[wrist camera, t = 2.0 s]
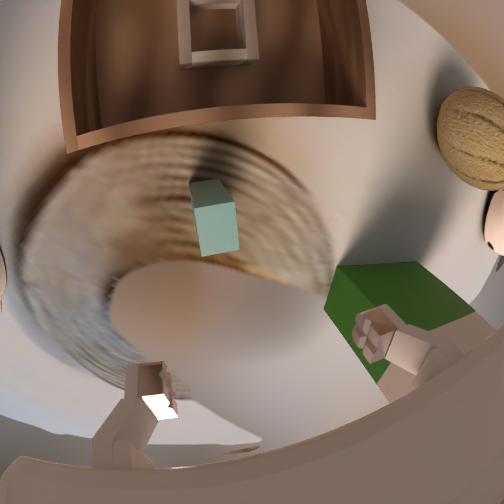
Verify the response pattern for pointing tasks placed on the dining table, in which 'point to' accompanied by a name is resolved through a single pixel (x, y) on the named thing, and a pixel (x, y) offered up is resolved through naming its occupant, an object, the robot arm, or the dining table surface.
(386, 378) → the hardback book
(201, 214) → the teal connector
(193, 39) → the walled box
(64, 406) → the dining table surface
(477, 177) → the cantaloupe
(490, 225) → the milk container
